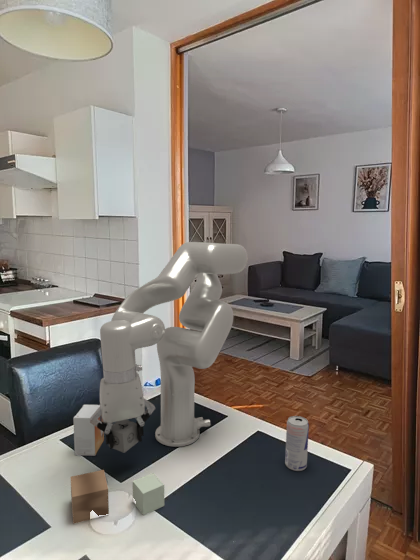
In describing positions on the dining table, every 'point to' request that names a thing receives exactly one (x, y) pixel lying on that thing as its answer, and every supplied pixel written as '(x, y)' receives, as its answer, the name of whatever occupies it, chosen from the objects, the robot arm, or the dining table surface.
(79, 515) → the walnut block
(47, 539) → the dining table surface
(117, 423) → the dice cube
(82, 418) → the small box
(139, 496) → the sage block
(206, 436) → the dining table surface
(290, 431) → the energy drink
